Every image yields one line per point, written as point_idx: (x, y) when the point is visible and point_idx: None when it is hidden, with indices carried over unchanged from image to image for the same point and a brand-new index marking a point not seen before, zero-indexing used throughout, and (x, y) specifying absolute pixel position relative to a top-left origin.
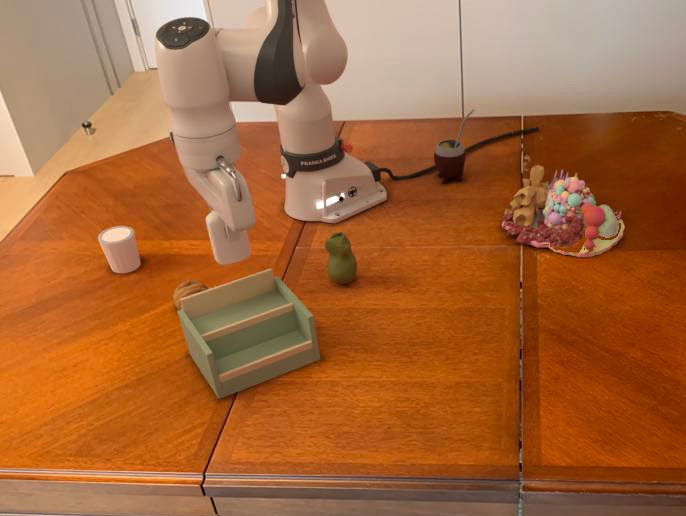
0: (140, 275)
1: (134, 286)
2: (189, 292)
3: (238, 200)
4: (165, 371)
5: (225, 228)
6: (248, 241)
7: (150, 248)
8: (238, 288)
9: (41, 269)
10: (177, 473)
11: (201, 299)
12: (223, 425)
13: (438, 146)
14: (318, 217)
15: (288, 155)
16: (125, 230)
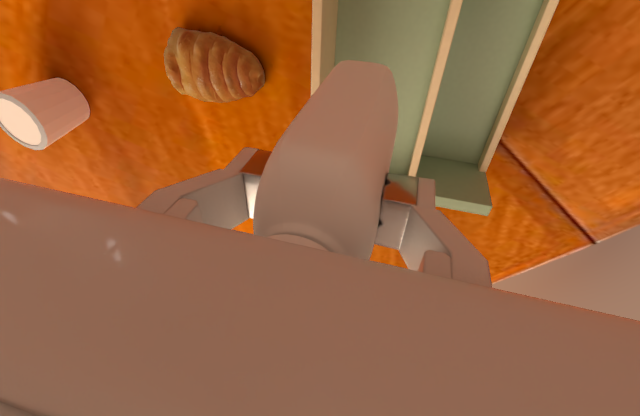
0: (100, 95)
1: (128, 115)
2: (203, 81)
3: (428, 321)
4: None
5: (383, 244)
6: (383, 88)
7: (20, 45)
8: (325, 54)
9: (66, 181)
10: (556, 259)
11: None
12: (537, 182)
13: None
14: None
15: None
16: (3, 104)
